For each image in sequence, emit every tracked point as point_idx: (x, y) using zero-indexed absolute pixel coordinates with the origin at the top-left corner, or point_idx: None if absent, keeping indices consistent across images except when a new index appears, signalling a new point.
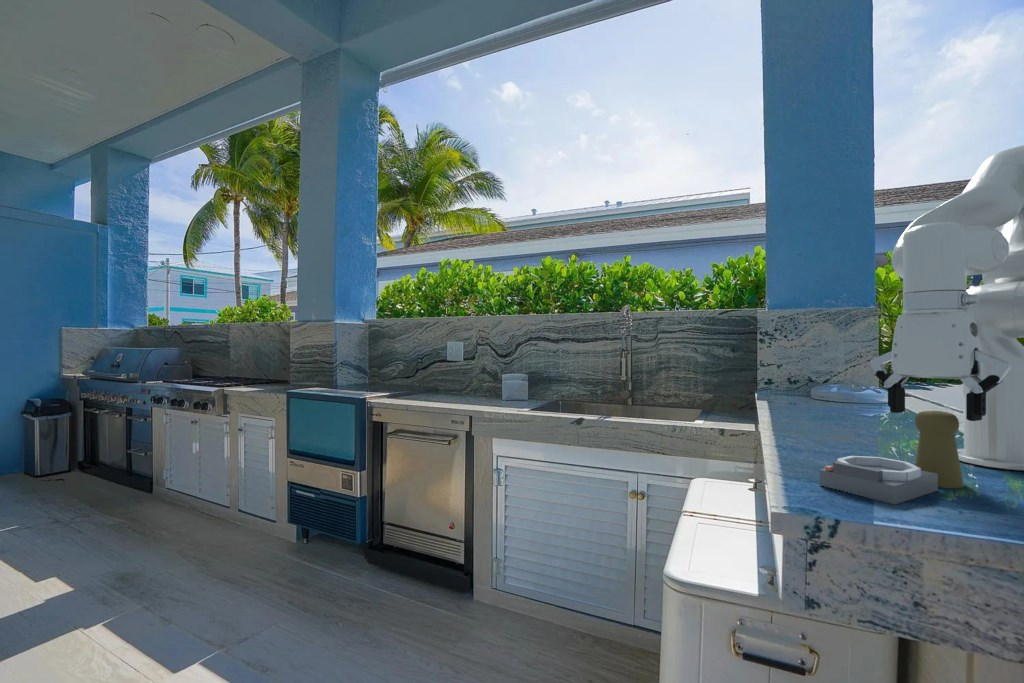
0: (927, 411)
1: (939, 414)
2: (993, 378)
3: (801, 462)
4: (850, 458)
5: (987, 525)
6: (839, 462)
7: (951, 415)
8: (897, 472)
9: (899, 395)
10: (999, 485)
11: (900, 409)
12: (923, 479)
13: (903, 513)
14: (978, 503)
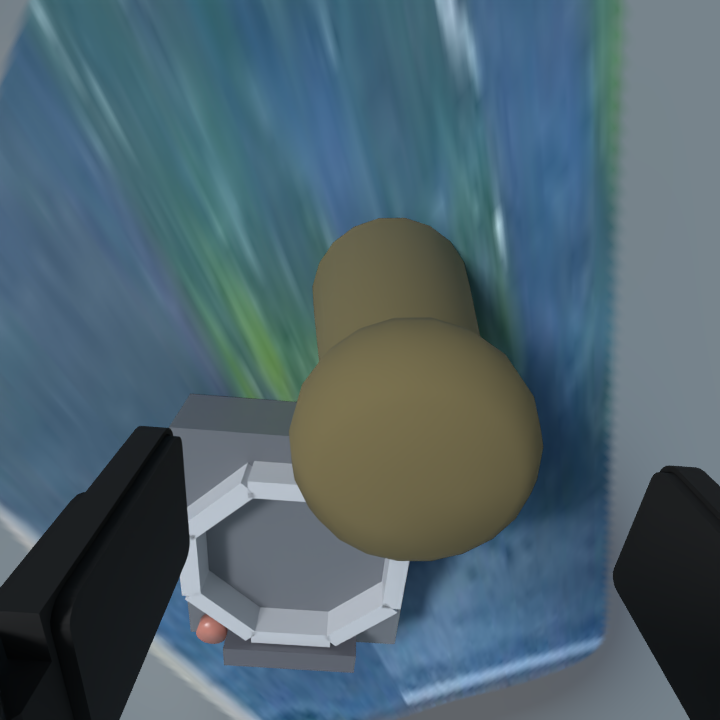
0: (372, 524)
1: (457, 549)
2: None
3: None
4: (198, 559)
5: (562, 597)
6: (234, 654)
7: (520, 507)
8: (379, 620)
9: (127, 629)
10: (567, 148)
11: (180, 507)
12: None
13: (424, 633)
14: None
